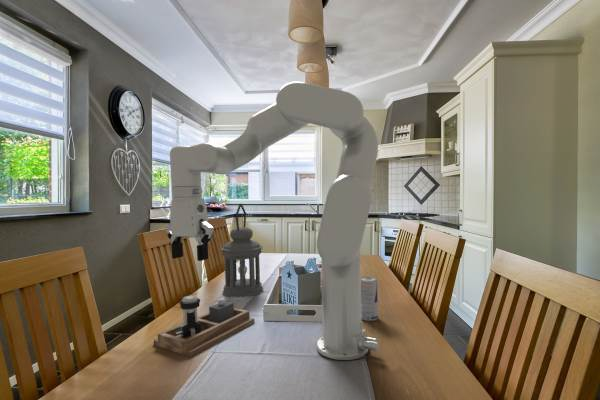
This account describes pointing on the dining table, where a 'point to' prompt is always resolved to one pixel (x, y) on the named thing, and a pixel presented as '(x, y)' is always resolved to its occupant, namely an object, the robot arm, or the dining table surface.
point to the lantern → (241, 262)
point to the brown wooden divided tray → (203, 333)
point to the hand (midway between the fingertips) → (190, 258)
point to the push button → (189, 316)
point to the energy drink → (369, 299)
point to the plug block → (221, 311)
